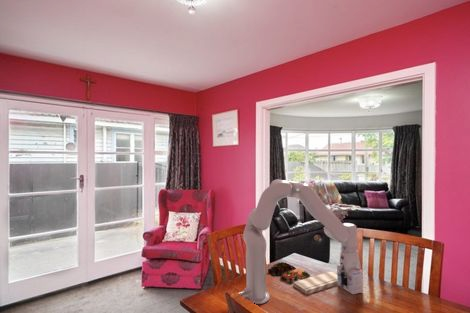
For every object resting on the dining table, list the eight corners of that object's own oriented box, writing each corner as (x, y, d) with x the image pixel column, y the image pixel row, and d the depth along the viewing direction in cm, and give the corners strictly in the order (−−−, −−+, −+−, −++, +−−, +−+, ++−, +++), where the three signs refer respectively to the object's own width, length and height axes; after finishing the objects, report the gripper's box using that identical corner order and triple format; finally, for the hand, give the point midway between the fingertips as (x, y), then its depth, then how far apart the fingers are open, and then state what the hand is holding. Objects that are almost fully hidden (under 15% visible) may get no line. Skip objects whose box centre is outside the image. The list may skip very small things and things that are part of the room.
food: (262, 272, 153) (262, 266, 153) (283, 265, 164) (283, 259, 164) (292, 286, 136) (292, 279, 136) (313, 276, 147) (313, 270, 147)
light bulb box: (337, 285, 134) (336, 264, 135) (346, 282, 137) (346, 262, 137) (353, 294, 124) (352, 272, 125) (363, 292, 127) (362, 270, 127)
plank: (306, 294, 126) (306, 290, 126) (293, 285, 135) (293, 281, 135) (346, 281, 139) (346, 277, 139) (331, 274, 148) (331, 271, 148)
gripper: (343, 253, 124) (343, 290, 123) (366, 247, 131) (367, 282, 131) (330, 248, 130) (331, 283, 130) (354, 243, 138) (355, 276, 138)
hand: (349, 282), depth 131 cm, fingers closed on light bulb box, 7 cm apart
